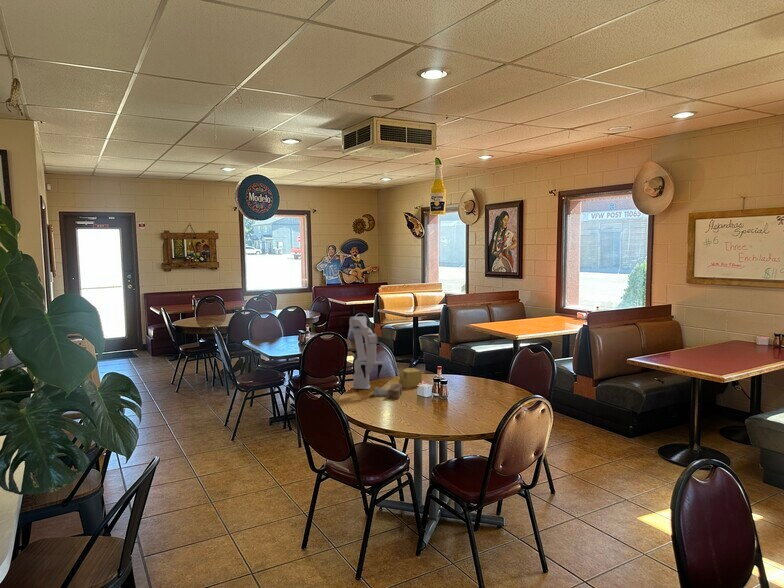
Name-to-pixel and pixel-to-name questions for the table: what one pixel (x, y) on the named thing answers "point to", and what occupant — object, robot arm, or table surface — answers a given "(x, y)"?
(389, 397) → the walnut tunnel block
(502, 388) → the table surface
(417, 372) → the cheese
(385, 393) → the steel key pin
